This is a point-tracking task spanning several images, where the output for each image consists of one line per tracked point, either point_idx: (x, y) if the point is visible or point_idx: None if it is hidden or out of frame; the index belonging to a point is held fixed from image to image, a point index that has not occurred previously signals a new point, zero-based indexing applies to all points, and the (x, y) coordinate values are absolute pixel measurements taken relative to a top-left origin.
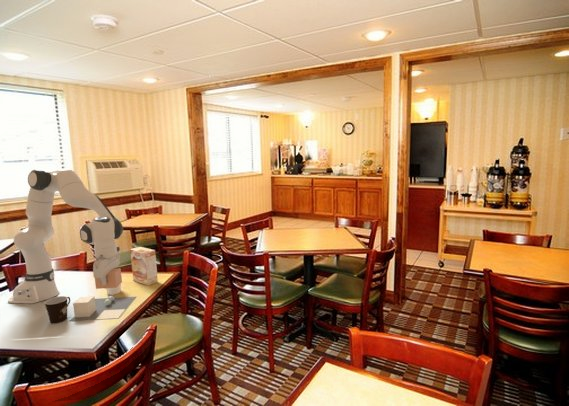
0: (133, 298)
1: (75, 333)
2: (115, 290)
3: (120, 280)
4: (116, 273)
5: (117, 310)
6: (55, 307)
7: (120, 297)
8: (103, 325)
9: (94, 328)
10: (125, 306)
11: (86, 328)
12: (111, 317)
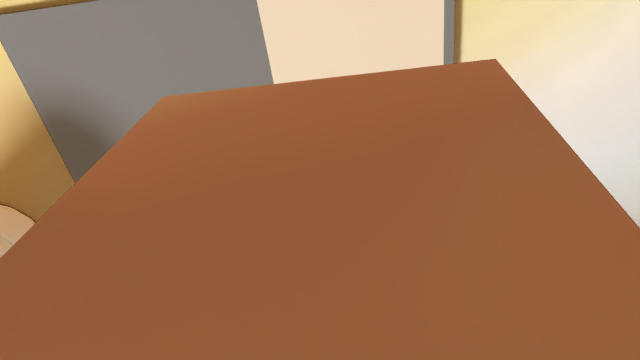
0: (35, 31)
1: (635, 180)
2: (5, 234)
3: (211, 118)
4: (476, 355)
5: (287, 55)
6: None
7: (62, 155)
8: (555, 36)
9: (593, 85)
10: (202, 21)
11: (573, 146)
12: (423, 37)
